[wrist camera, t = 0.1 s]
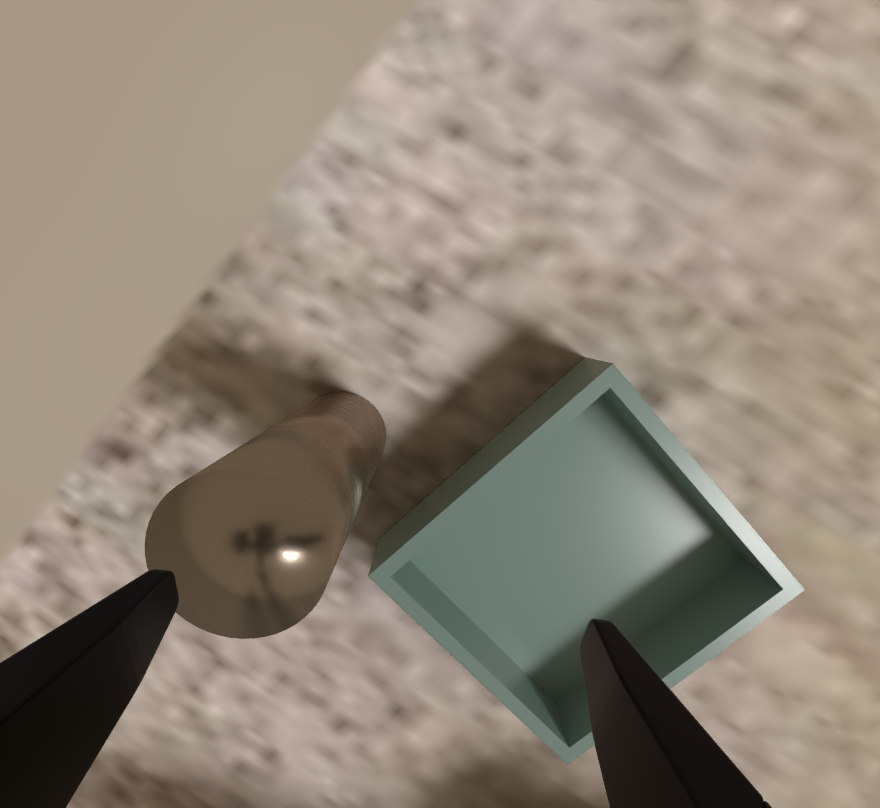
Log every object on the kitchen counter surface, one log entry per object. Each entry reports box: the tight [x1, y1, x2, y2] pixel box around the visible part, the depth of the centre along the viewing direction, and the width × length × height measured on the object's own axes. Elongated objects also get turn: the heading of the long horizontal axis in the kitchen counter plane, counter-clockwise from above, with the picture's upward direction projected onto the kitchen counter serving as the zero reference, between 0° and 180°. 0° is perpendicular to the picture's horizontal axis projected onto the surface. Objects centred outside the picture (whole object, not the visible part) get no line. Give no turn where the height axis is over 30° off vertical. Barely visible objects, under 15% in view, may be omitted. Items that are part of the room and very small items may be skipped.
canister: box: [145, 392, 386, 639], centre depth 18 cm, size 5×5×13 cm
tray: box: [368, 357, 804, 765], centre depth 24 cm, size 16×16×4 cm
